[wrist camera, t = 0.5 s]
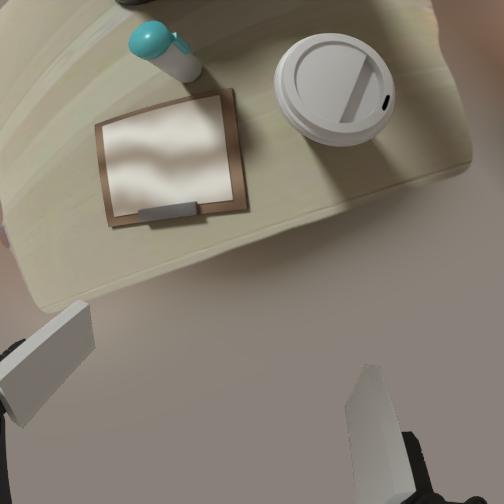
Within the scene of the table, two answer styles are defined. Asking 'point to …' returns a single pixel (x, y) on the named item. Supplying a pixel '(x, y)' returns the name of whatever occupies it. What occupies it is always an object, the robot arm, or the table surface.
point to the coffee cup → (334, 89)
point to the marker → (165, 51)
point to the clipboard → (172, 160)
